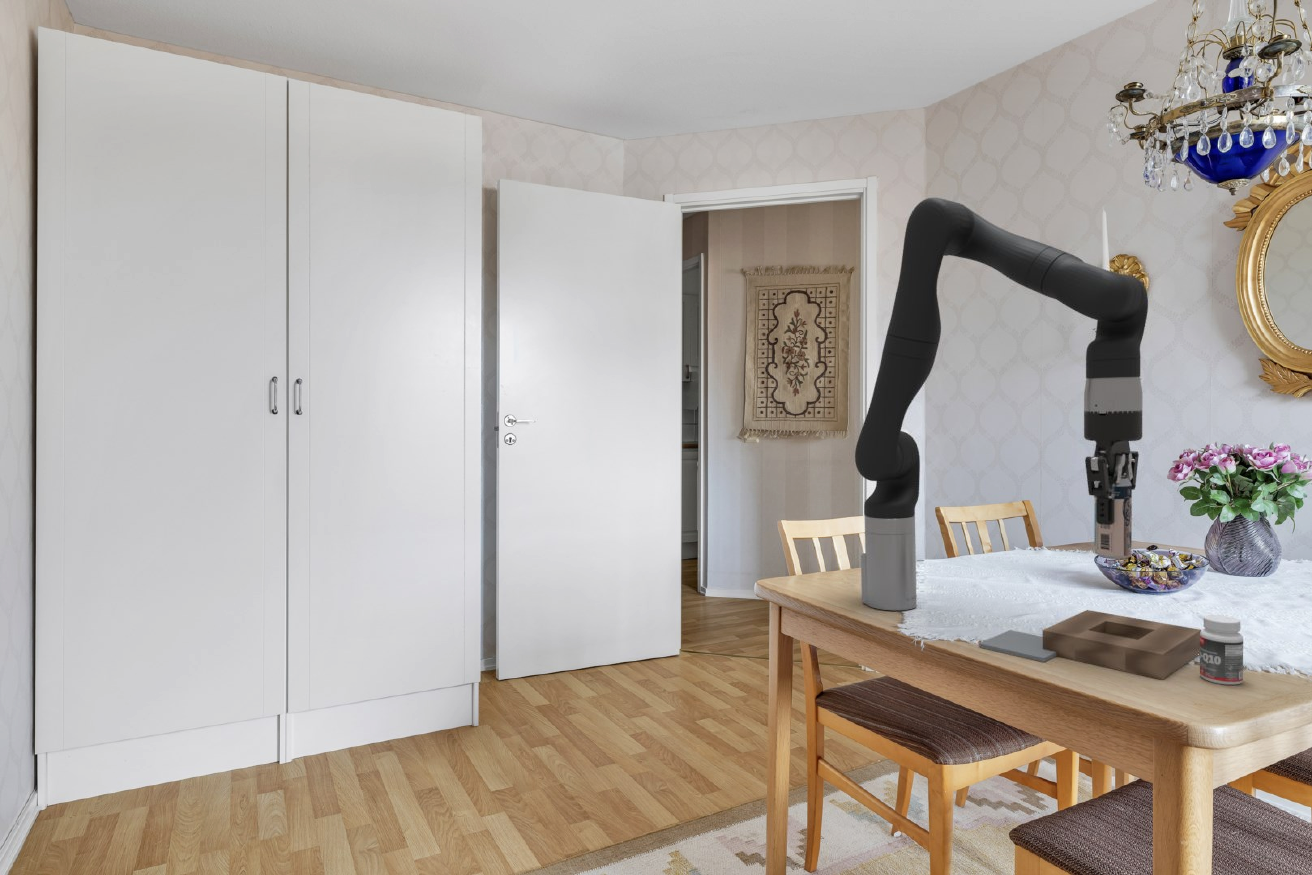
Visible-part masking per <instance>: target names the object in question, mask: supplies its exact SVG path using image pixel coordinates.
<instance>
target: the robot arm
mask: <svg viewBox="0 0 1312 875" xmlns="http://www.w3.org/2000/svg"><path fill="white" fill-rule="evenodd" d="M901 255H902V257H901V262H900V264H901V265H900V272H899V278H898V283H897V288H896V292H895V298H894V302H893V307H892V311H891V314H890V315H891V316H890V319H889V320H890V321H889V324H888V326H887V327H888V328H887V331H886V335H885V340H884V344H883V347H882V352H881V358H880V363H879V368H878V372H877V377H876V380H875V383H874V388H873V392H872V395H871V400H870V404H869V407H868V410H867V412H866V413H867V414H866V416H865V419H864V423H863V425H862V428H861V429H860V430H861V431H860V433H859V436H858V439H857V442H856V446H855V450H854V452H855V453H854V461H855V466H856V469H857V471H858V472H859V473H858V474H860V475H861V477H862V478H863V479H865V480H867V481H870V482H871V481H872V482H876V483H875V488H874V490H873V492H872V493H871V495H870V496H869V497H868V498H867V499H866V500H865V501H864V502H863V503H864V504H863V510H864V512H863V513H864V553H861V555H860V576H861V577H860V578H861V581H860V582H861V603H862V604H865V605H867V606H868V607H871V608H873V609H877V610H885V611H907V610H912V609H915V608H916V607H917V605H918V604H917V597H918V595H917V560H916V559H917V555H916V553H917V552H916V549H917V548H916V546H917V545H916V505H917V503H918V501H919V496H920V473H921V470H920V469H921V460H920V458H921V457H920V450H919V447H918V444H917V442H916V441H915V439H914V438H913V436H912V435H910V434H909V433H907V432H905V431H902V427H903V425H904V424H903V423H904V420H905V417H906V413H907V411H908V409H909V407H910V405H911V404H912V402H913V401H914V399H915V398H916V397H917V395H918V393H919V392H920V390H921V388H922V387H923V386H924V384H925V382H926V381H927V379H928V378H929V376H930V374H931V372H932V370H933V367H934V364H935V361H936V356H937V352H938V348H939V344H940V340H941V336H942V334H941V332H942V323H941V321H942V320H941V314H940V308H939V301H938V293H937V292H938V279H939V274H940V269H941V268H942V267H941V266H942V262H943V259H944V257H945V256H946V257H947V256H948V257H949V256H952V257H957V258H961V259H966V260H970V261H975V262H977V263H981V264H983V265H984V266H985V265H986V266H987V267H990V268H992V269H994V270H995V271H997V272H999V273H1000V274H1002V275H1003V276H1005V278H1006V277H1007V278H1008V279H1009V280H1011V281H1013V282H1015V283H1017V284H1018V285H1020V286H1022V287H1025V288H1027V289H1029V290H1032V291H1033V292H1036V293H1038V294H1040V295H1043V296H1045V297H1048V298H1051V299H1054V300H1057V301H1058V302H1060V303H1061V304H1063V305H1064V306H1066V307H1067V308H1070V309H1071V310H1073V311H1074V312H1076V313H1078V314H1080V315H1082V316H1085V317H1088V318H1090V319H1092V320H1097V322H1096V332H1095V338H1094V339H1093V340H1092V341H1091V342H1089V343H1088V345H1087V347H1086V352H1085V386H1084V392H1083V438H1084V439H1085V441H1086V440H1087V441H1090V442H1091V441H1092V442H1095V448H1094V454H1093V456H1086V457H1085V460H1084V461H1085V462H1084V463H1085V472H1086V479H1087V480H1086V481H1087V490H1088V495H1089V496H1093V497H1094V499H1095V498H1097V499H1096V521H1097V523H1098V524H1105V525H1111V524H1113V523H1114V500H1113V499H1114V497H1115V489H1116V485H1118V484H1120V480H1121V478H1124V477H1127V478H1128V479H1129V480H1130V482H1131V484H1132V491H1133V490H1136V484H1137V475H1138V474H1137V473H1138V466H1139V465H1138V464H1139V455H1140V454H1139V451H1135V450H1133V451H1132V450H1131V447H1130V442H1137V441H1140V440H1142V438H1143V399H1144V398H1143V388H1142V387H1143V386H1142V382H1141V380H1142V378H1141V358H1142V357H1141V344H1142V340H1143V336H1144V333H1145V327H1146V323H1147V318H1148V311H1149V297H1148V291H1147V289H1146V287H1145V285H1144V283H1143V282H1142V281H1141V280H1140V279H1138V278H1137V277H1135V276H1132V275H1130V274H1123V273H1117V272H1114V271H1111V270H1107V269H1104V268H1101V267H1099V266H1095V265H1094V264H1093V265H1092V264H1090V263H1087V262H1084V260H1082V259H1081V258H1079V257H1078V256H1076V255H1074V254H1072V253H1070V252H1066V251H1064V250H1062V249H1059V248H1057V247H1054V246H1050V245H1048V244H1045V243H1042V242H1039V241H1037V240H1034V239H1030V238H1027V237H1024V236H1021V235H1018V234H1015V233H1013V232H1010V231H1007V230H1005V229H1003V228H1001V227H999V226H997V225H995V224H993V223H992V222H990V221H988V220H987V219H985V218H983V217H982V216H981V215H979V214H978V213H977V212H975V211H973V210H972V209H970V208H968V207H967V206H966V205H964V204H962V203H960V202H956V201H952V200H948V199H944V198H940V197H928V198H925V199H923V200H922V201H920V202H918V204H917V205H916V206H915V207H914V209H913V210H912V211H911V213H910V215H909V218H908V220H907V223H906V227H905V232H904V241H903V249H902V254H901ZM1108 477H1111V478H1108ZM1101 485H1102V488H1101Z"/></svg>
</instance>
